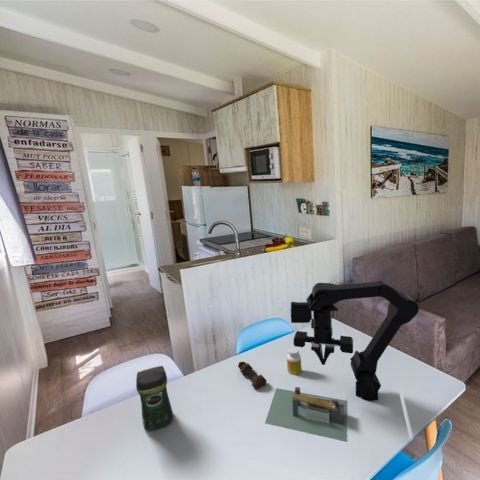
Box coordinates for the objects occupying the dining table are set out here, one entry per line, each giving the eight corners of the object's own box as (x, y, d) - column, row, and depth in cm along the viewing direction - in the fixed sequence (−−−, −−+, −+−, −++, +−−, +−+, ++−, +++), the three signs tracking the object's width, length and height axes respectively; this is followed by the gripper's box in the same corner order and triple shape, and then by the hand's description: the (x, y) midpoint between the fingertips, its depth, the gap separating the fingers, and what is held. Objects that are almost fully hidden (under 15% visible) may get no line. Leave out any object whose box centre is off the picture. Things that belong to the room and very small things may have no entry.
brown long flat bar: (336, 405, 92) (336, 402, 91) (336, 411, 89) (336, 409, 89) (293, 394, 96) (293, 391, 96) (292, 400, 94) (292, 397, 93)
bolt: (243, 371, 121) (263, 392, 107) (233, 370, 118) (252, 391, 105) (248, 358, 121) (268, 377, 108) (238, 356, 119) (257, 375, 105)
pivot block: (344, 413, 92) (344, 401, 91) (344, 424, 88) (344, 412, 87) (332, 411, 94) (331, 399, 93) (331, 421, 89) (331, 409, 89)
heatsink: (330, 407, 95) (330, 398, 94) (329, 425, 88) (329, 415, 88) (308, 403, 97) (308, 394, 97) (305, 420, 91) (305, 410, 90)
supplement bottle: (297, 378, 111) (296, 355, 109) (285, 374, 114) (283, 351, 112) (303, 370, 115) (302, 348, 113) (291, 366, 118) (290, 344, 117)
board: (347, 403, 97) (347, 400, 97) (346, 444, 83) (346, 441, 83) (276, 390, 106) (276, 388, 106) (265, 425, 91) (264, 423, 91)
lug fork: (300, 403, 98) (300, 387, 97) (297, 417, 92) (297, 400, 91) (296, 402, 98) (295, 386, 97) (293, 416, 93) (292, 399, 92)
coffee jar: (171, 407, 102) (165, 360, 98) (174, 425, 94) (167, 374, 90) (142, 416, 99) (134, 367, 95) (143, 435, 91) (134, 383, 87)
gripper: (352, 313, 100) (352, 354, 103) (297, 308, 106) (299, 347, 109) (353, 329, 90) (353, 374, 93) (292, 323, 96) (294, 365, 99)
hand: (323, 364), depth 99 cm, fingers closed
